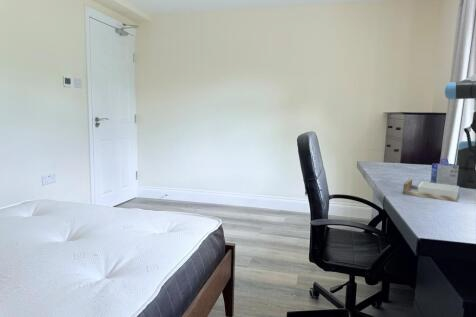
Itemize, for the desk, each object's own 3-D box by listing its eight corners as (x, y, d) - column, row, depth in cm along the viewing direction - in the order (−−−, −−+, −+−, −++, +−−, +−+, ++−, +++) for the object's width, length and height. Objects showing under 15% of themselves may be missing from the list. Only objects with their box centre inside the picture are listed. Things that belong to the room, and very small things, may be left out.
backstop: (457, 194, 144) (459, 184, 143) (456, 201, 131) (458, 190, 130) (408, 188, 155) (409, 178, 155) (402, 193, 142) (403, 183, 141)
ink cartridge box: (449, 188, 157) (452, 158, 155) (456, 191, 151) (460, 160, 149) (428, 187, 157) (432, 158, 155) (435, 190, 151) (438, 159, 150)
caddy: (457, 194, 143) (458, 186, 142) (456, 200, 131) (457, 191, 131) (421, 189, 151) (422, 181, 151) (417, 195, 140) (418, 186, 139)
